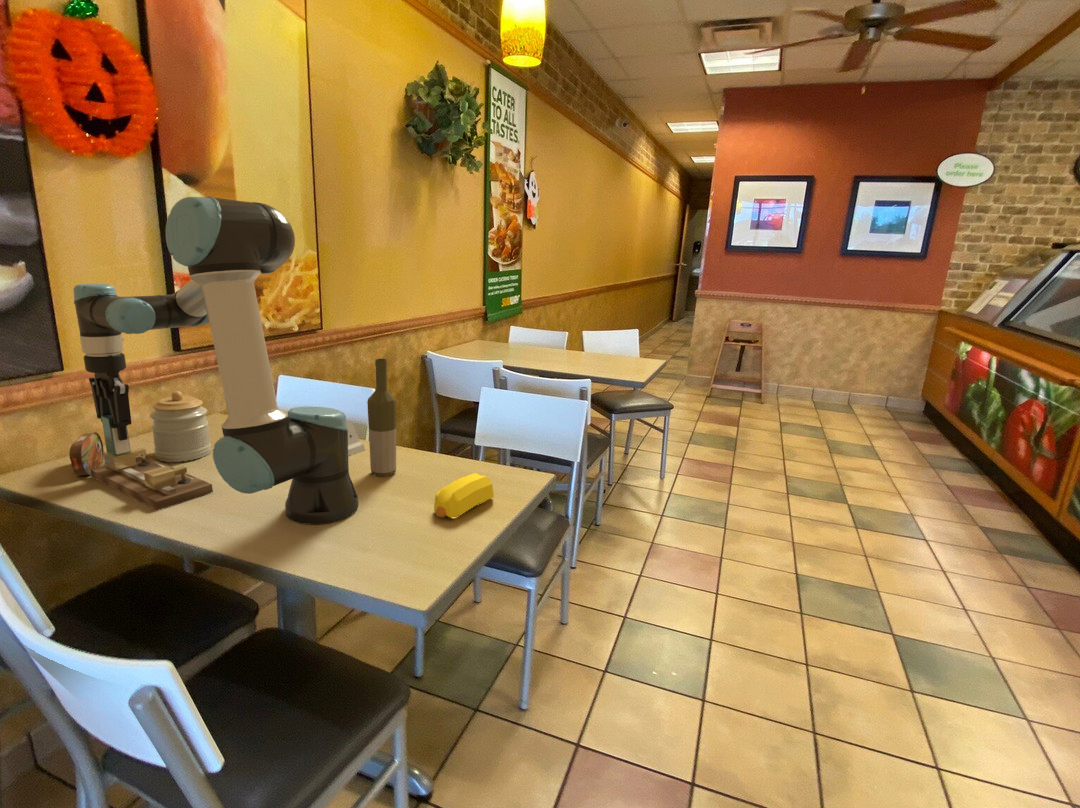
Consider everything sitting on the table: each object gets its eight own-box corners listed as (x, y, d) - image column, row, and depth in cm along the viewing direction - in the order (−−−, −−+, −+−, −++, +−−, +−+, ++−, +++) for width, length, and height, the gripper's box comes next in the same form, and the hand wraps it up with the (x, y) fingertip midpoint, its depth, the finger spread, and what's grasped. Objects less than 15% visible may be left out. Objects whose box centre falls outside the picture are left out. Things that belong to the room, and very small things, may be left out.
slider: (151, 463, 141) (144, 413, 138) (116, 473, 135) (107, 420, 131) (141, 459, 144) (134, 409, 140) (105, 468, 137) (97, 416, 134)
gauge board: (212, 492, 133) (210, 467, 132) (157, 510, 123) (153, 483, 122) (145, 463, 148) (142, 440, 147) (91, 477, 138) (87, 452, 137)
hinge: (320, 467, 151) (309, 430, 150) (309, 469, 154) (297, 433, 153) (366, 449, 166) (356, 416, 165) (354, 451, 168) (344, 419, 167)
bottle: (363, 475, 147) (360, 360, 139) (379, 466, 154) (376, 356, 146) (387, 480, 145) (385, 363, 137) (402, 470, 151) (401, 358, 144)
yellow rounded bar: (424, 516, 127) (451, 526, 123) (424, 488, 126) (451, 497, 122) (475, 490, 142) (500, 498, 138) (476, 465, 140) (501, 472, 137)
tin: (87, 480, 137) (81, 446, 134) (71, 481, 135) (65, 447, 133) (106, 458, 150) (101, 427, 148) (91, 459, 149) (86, 428, 147)
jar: (172, 467, 147) (164, 400, 142) (145, 456, 153) (136, 391, 148) (221, 453, 158) (215, 390, 153) (194, 443, 164) (187, 383, 159)
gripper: (140, 356, 130) (153, 453, 136) (105, 346, 138) (119, 439, 144) (102, 360, 123) (118, 462, 130) (67, 350, 132) (83, 447, 138)
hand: (118, 450), depth 137 cm, fingers closed on slider, 3 cm apart
